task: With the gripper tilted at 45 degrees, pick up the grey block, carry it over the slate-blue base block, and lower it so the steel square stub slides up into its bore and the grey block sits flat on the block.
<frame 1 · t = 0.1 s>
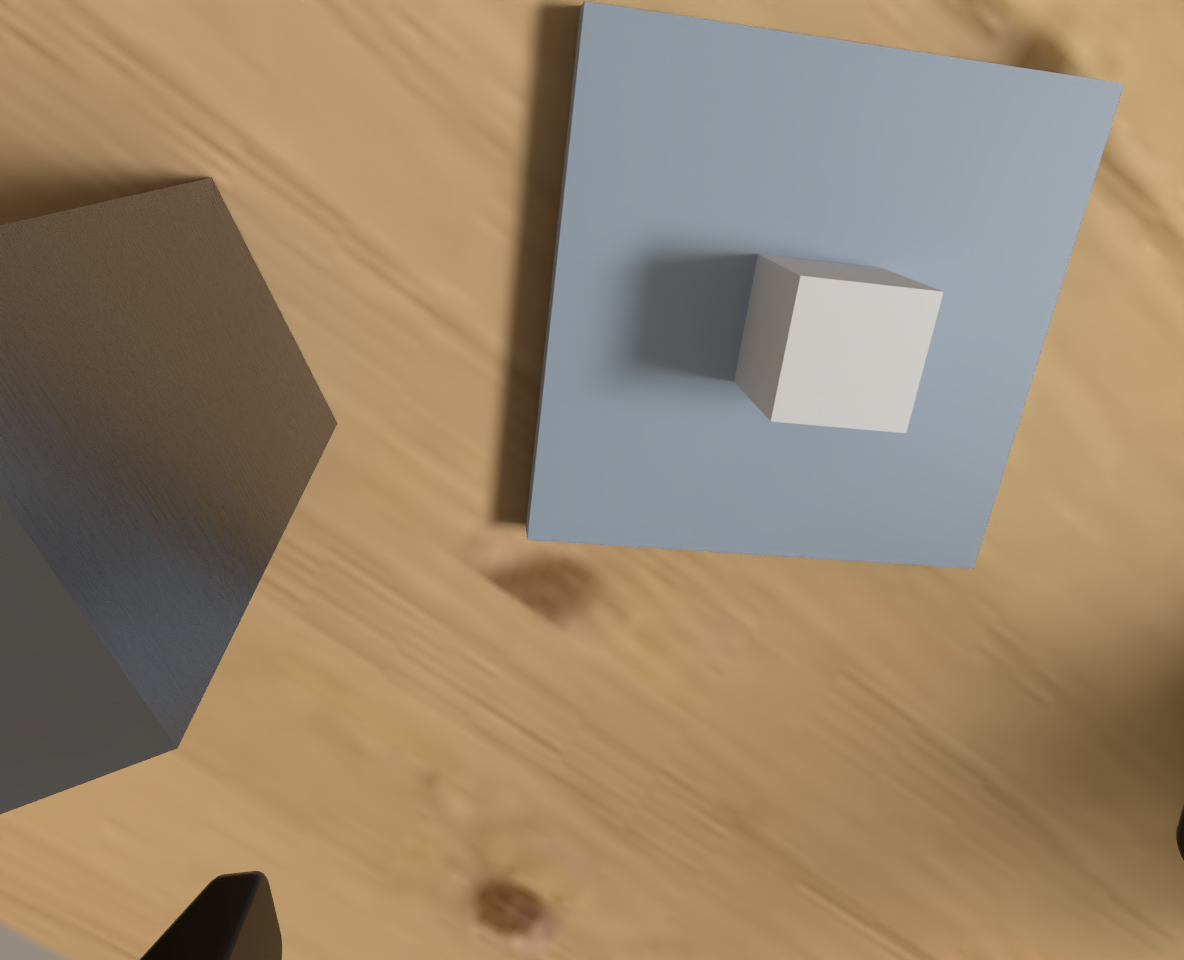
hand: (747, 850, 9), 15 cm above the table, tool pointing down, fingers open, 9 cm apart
base block: (787, 312, 22), on the table
grey block: (157, 354, 21), on the table
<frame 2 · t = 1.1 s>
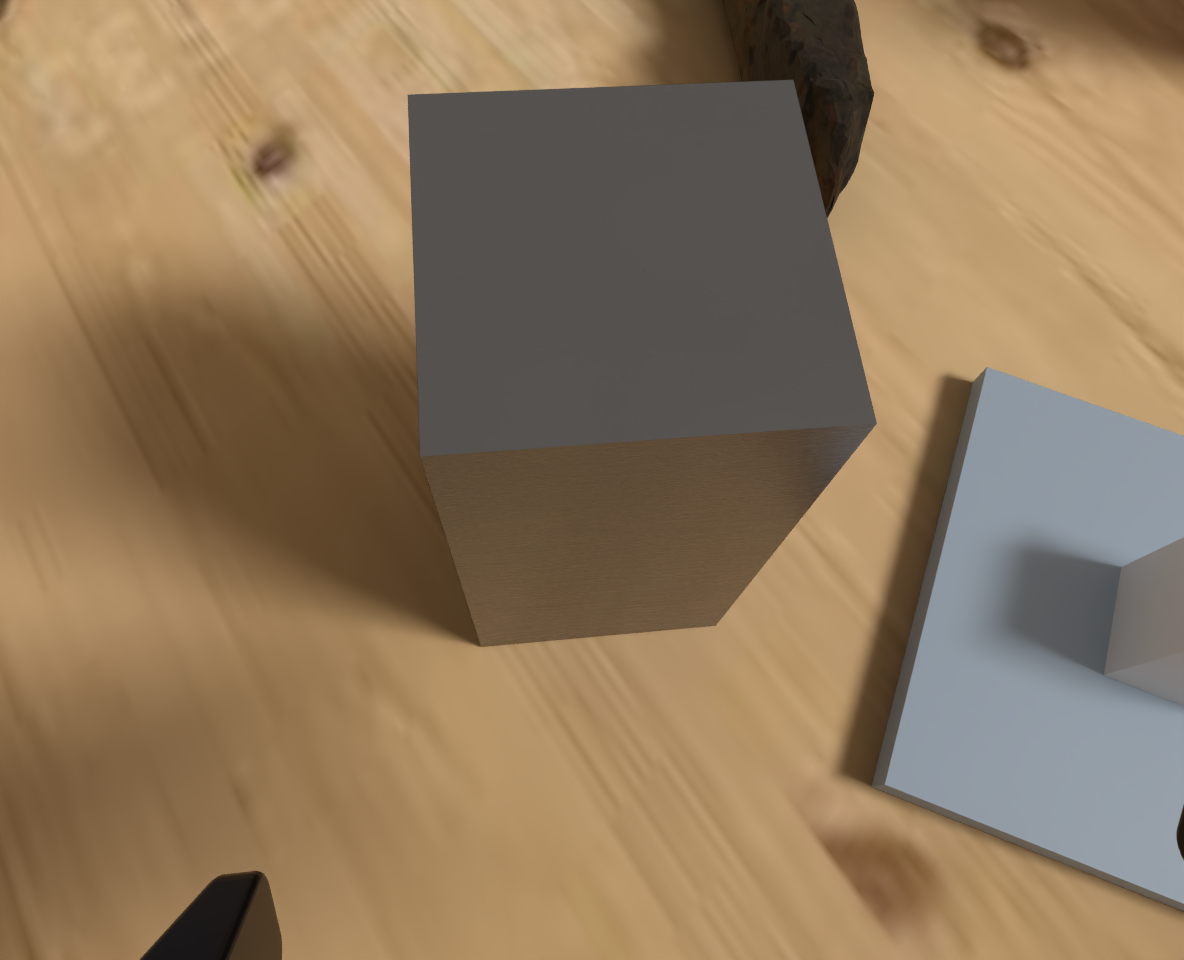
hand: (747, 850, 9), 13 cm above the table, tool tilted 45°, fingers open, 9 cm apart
base block: (1134, 653, 24), on the table
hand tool: (764, 21, 32), on the table
grey block: (587, 524, 24), on the table
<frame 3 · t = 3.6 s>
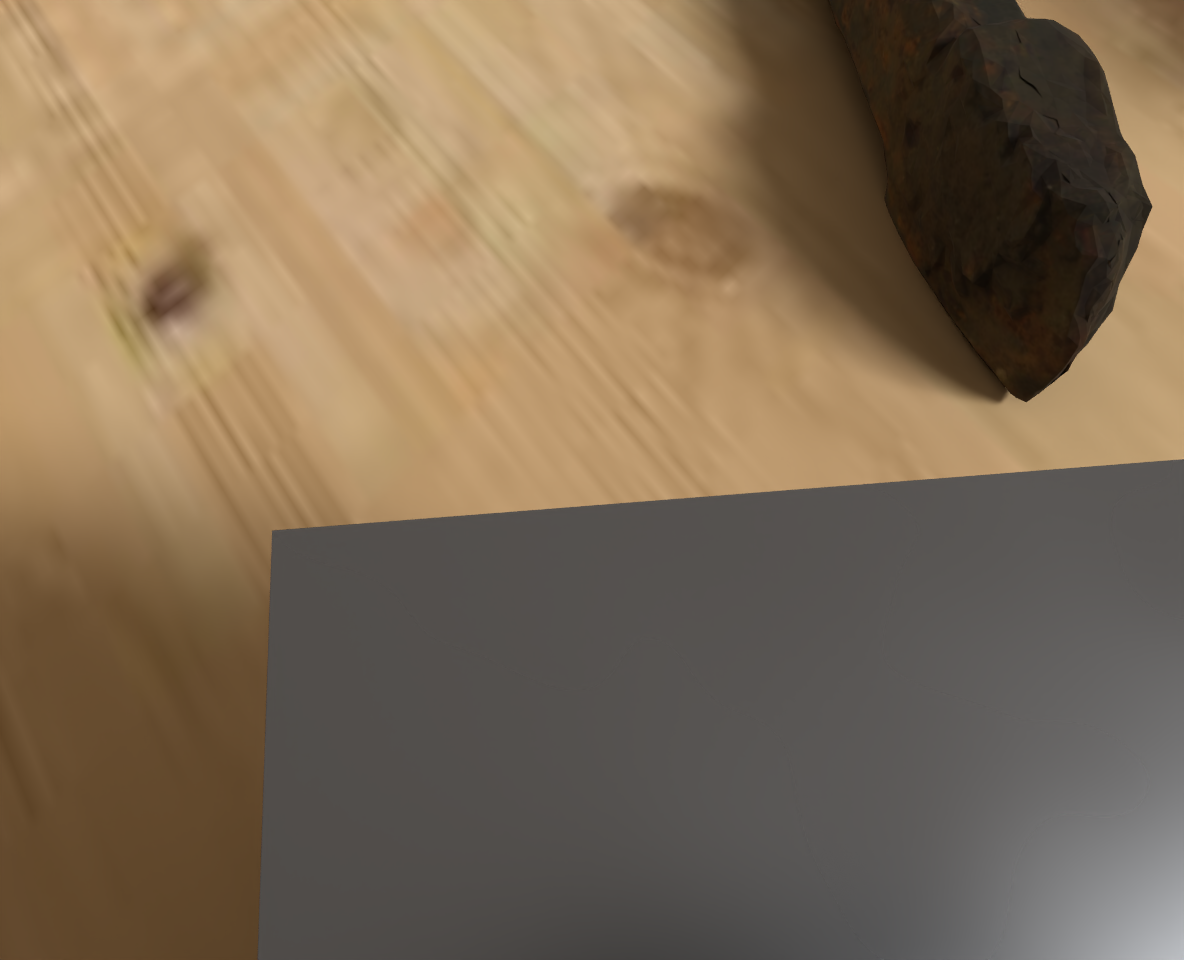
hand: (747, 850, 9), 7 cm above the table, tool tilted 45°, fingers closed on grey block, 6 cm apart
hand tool: (898, 71, 22), on the table
grey block: (674, 944, 14), on the table, touching gripper
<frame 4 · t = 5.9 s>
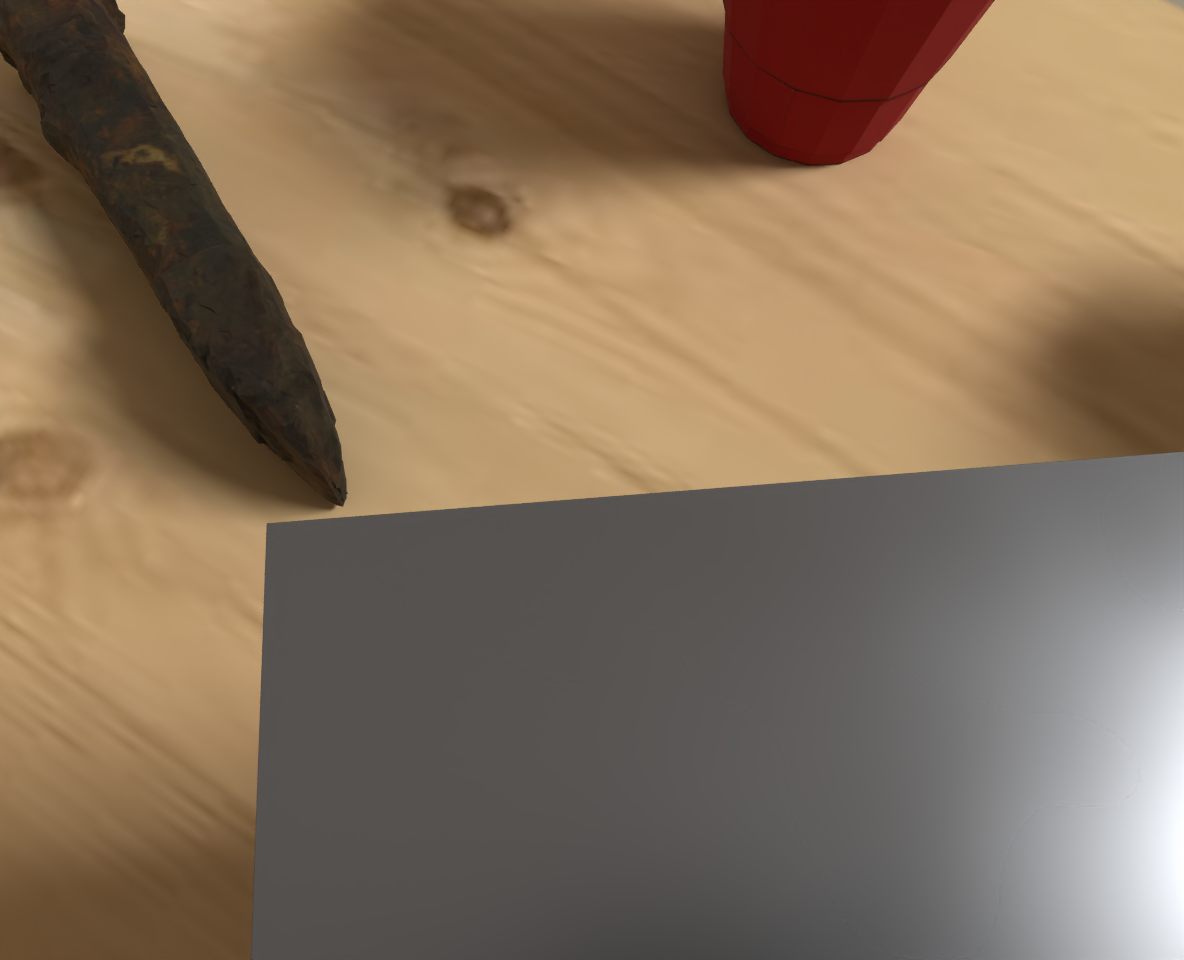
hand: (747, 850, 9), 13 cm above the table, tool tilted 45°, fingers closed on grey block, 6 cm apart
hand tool: (215, 256, 27), on the table
plastic cup: (811, 100, 30), on the table
grey block: (672, 942, 14), point 7 cm above the table, touching gripper
when the fingers open (9 cm above the table, at t = 8.2 s): grey block drops 2 cm, resting on base block.
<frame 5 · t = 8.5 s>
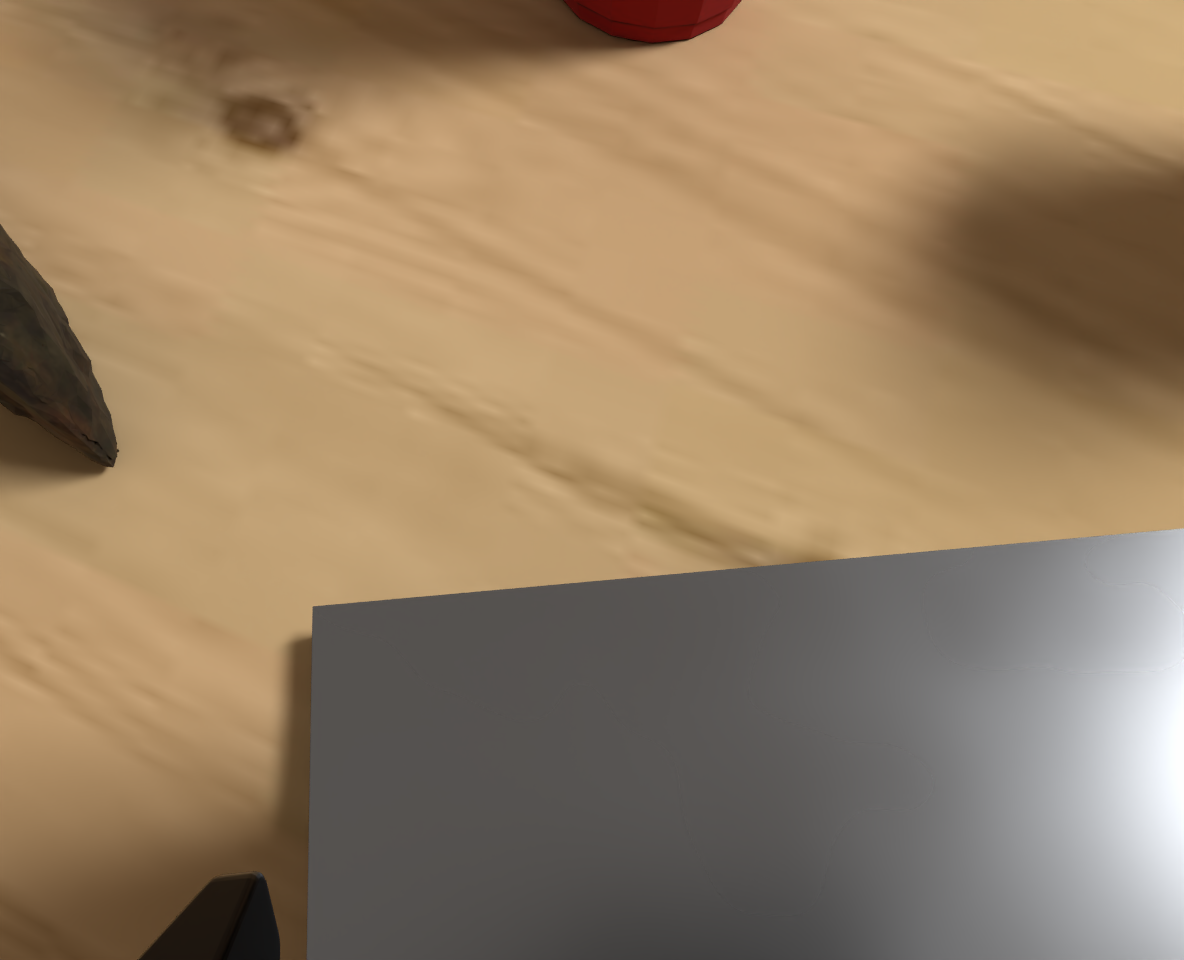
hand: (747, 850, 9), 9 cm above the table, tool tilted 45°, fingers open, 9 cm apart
grey block: (661, 930, 16), point 1 cm above the table, touching base block
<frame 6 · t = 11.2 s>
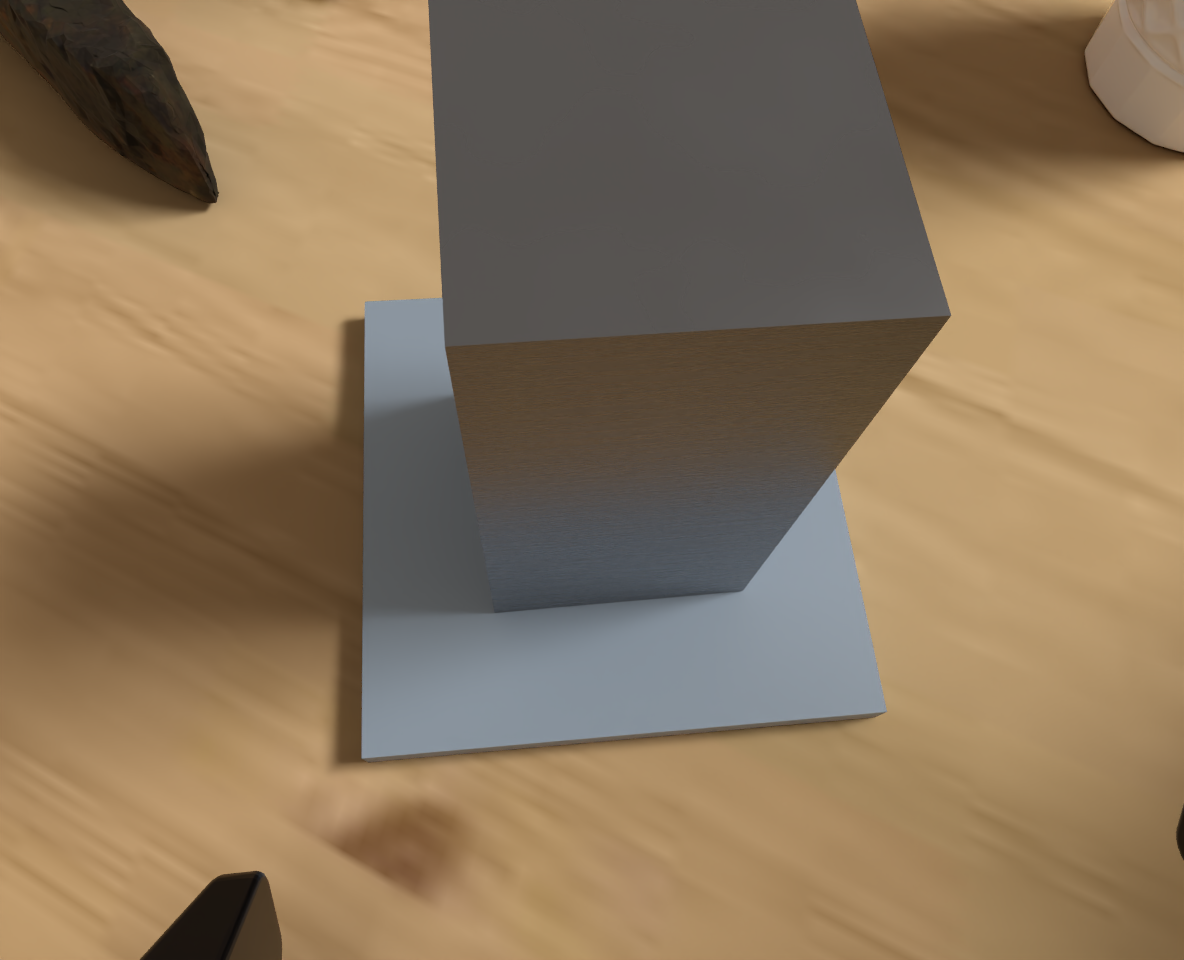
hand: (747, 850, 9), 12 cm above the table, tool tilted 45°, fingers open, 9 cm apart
base block: (601, 511, 24), on the table, touching grey block
white cup: (1177, 87, 30), on the table
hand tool: (68, 32, 29), on the table
grey block: (606, 486, 23), point 1 cm above the table, touching base block
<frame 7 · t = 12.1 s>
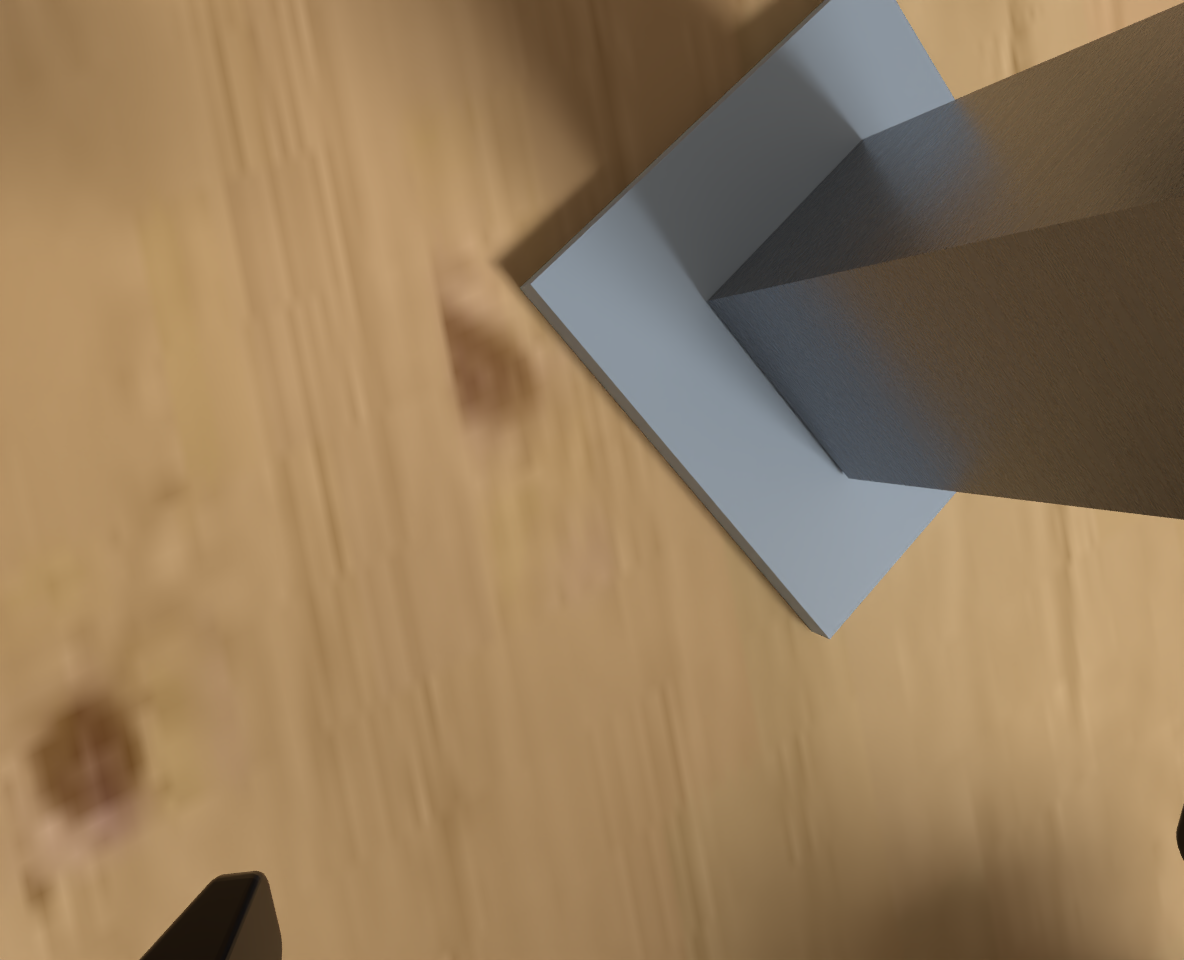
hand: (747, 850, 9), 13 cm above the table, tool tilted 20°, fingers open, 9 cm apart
base block: (815, 315, 24), on the table, touching grey block
grey block: (855, 311, 23), point 1 cm above the table, touching base block
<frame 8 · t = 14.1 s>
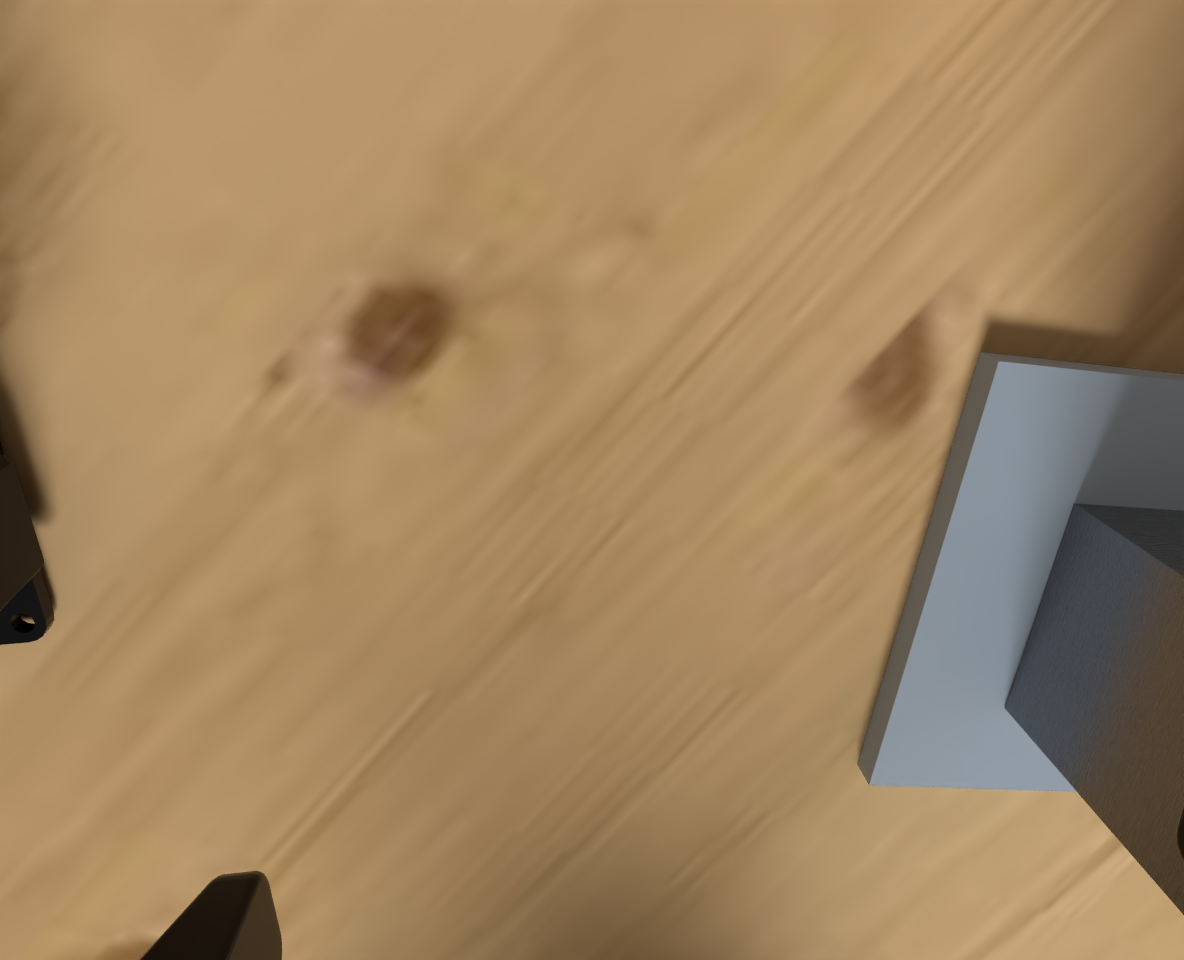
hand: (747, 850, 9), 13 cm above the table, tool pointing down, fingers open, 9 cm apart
base block: (1106, 580, 25), on the table, touching grey block
grey block: (1143, 615, 23), point 1 cm above the table, touching base block
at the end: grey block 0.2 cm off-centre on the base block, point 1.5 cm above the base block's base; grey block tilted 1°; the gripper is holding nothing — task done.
